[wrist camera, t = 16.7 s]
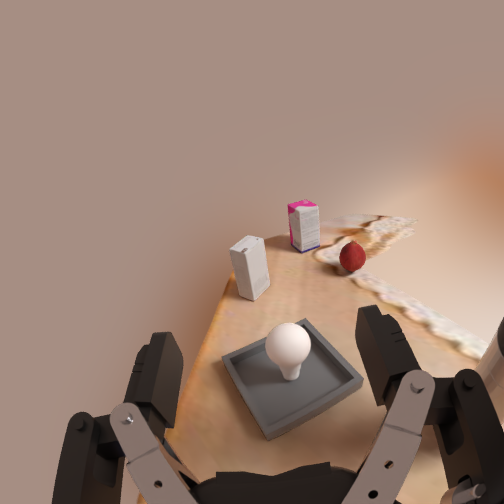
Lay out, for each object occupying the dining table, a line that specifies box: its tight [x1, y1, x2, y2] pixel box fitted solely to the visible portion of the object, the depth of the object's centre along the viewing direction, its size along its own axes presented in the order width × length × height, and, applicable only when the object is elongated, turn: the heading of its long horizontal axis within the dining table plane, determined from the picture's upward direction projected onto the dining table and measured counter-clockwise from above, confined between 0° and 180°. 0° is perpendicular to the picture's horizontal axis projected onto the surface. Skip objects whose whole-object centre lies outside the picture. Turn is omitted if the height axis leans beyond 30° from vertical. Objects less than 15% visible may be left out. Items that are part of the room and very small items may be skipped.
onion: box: [339, 240, 366, 272], centre depth 60 cm, size 6×6×8 cm
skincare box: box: [229, 235, 270, 301], centre depth 59 cm, size 6×4×12 cm
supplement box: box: [288, 200, 320, 253], centre depth 72 cm, size 6×6×12 cm
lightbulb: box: [265, 323, 311, 381], centre depth 39 cm, size 6×6×11 cm
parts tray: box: [222, 318, 364, 441], centre depth 41 cm, size 16×16×2 cm
